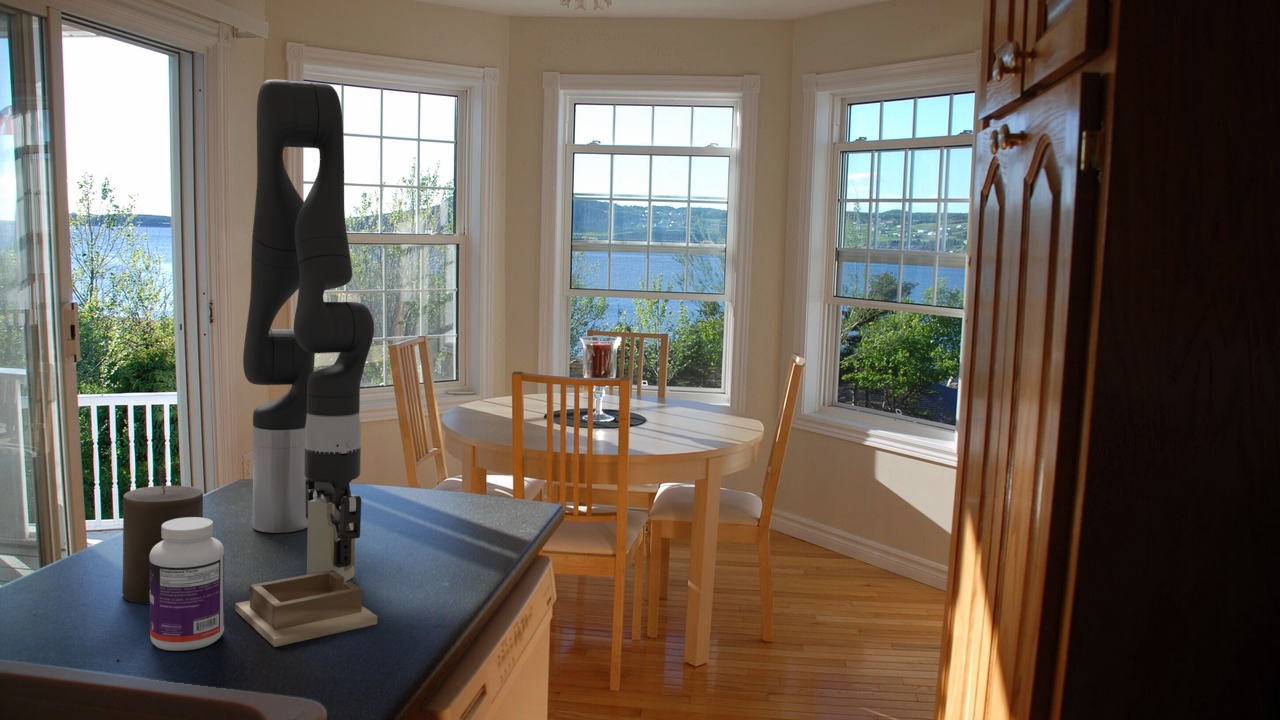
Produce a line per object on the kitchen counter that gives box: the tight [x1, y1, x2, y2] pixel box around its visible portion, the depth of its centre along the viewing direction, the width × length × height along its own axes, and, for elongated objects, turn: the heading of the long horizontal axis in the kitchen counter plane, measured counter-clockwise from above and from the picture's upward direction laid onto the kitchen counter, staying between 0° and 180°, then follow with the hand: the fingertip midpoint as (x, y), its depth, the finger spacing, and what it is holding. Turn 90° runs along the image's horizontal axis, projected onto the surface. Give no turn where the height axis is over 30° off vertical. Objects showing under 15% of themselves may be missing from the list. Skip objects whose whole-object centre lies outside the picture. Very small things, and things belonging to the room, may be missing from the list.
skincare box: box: [306, 494, 357, 583], centre depth 137 cm, size 6×4×12 cm
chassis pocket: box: [234, 570, 378, 648], centre depth 124 cm, size 14×13×4 cm
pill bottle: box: [149, 517, 225, 652], centre depth 115 cm, size 8×8×14 cm
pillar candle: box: [121, 483, 204, 605], centre depth 130 cm, size 10×10×15 cm
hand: (331, 558), depth 138 cm, fingers closed on skincare box, 7 cm apart
